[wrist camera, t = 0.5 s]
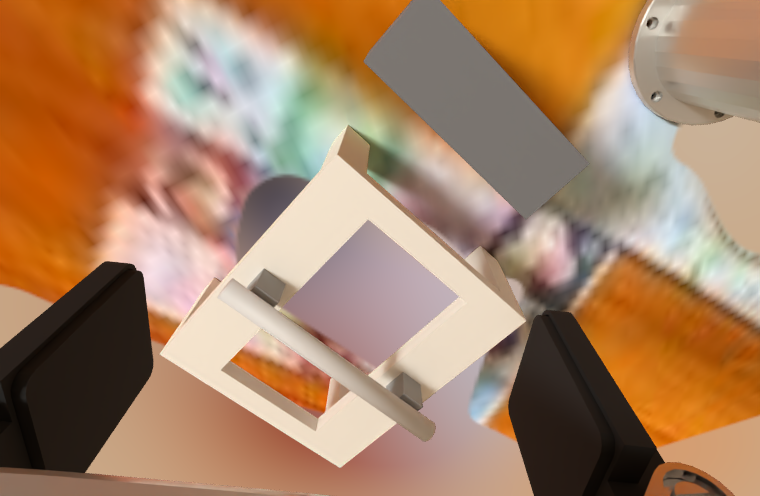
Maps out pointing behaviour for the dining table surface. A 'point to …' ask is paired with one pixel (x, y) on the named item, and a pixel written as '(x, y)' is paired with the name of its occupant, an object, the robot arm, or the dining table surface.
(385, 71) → the grey piece
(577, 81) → the dining table surface
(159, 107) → the dining table surface
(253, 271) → the cream frame with rod
